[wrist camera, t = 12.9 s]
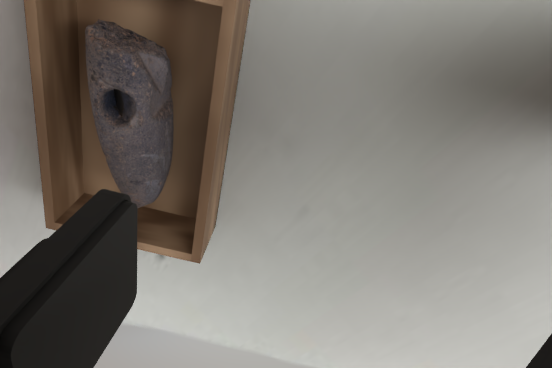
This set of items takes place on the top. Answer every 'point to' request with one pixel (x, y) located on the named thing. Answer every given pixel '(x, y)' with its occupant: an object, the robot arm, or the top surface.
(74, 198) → the box
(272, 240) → the top surface
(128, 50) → the perforated stone tool
